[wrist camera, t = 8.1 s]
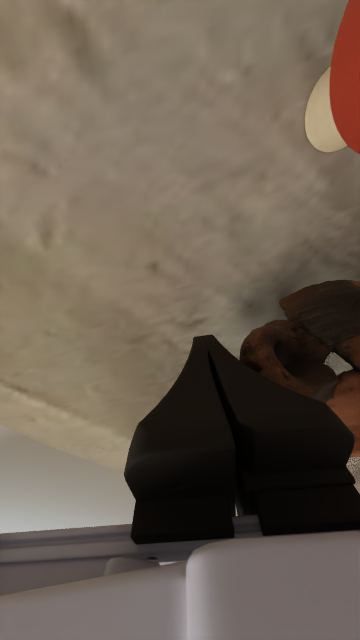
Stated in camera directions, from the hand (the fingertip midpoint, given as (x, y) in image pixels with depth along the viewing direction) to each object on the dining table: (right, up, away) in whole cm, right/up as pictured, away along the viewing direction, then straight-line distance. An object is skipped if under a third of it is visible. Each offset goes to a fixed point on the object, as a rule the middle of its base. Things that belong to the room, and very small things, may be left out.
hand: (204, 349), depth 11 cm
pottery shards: (+7, 0, +2) cm, 7 cm away
